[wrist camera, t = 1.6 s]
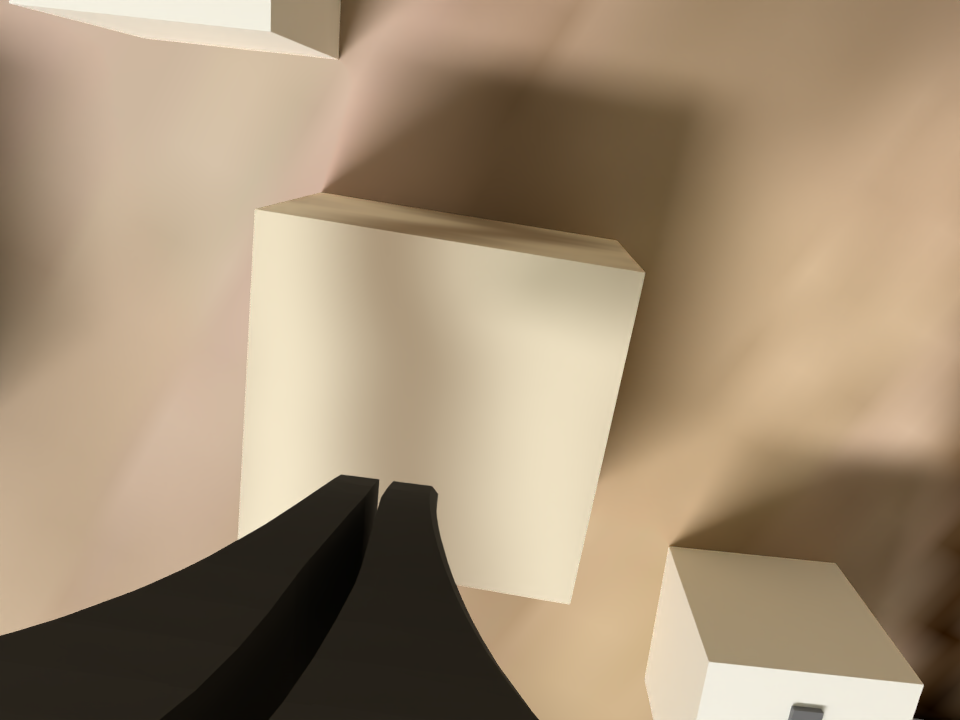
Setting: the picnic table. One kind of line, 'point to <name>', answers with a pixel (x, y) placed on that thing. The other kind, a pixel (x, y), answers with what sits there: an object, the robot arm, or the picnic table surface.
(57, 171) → the picnic table surface
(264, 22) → the numbered cube seven
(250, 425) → the plain block
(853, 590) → the white marked cube
